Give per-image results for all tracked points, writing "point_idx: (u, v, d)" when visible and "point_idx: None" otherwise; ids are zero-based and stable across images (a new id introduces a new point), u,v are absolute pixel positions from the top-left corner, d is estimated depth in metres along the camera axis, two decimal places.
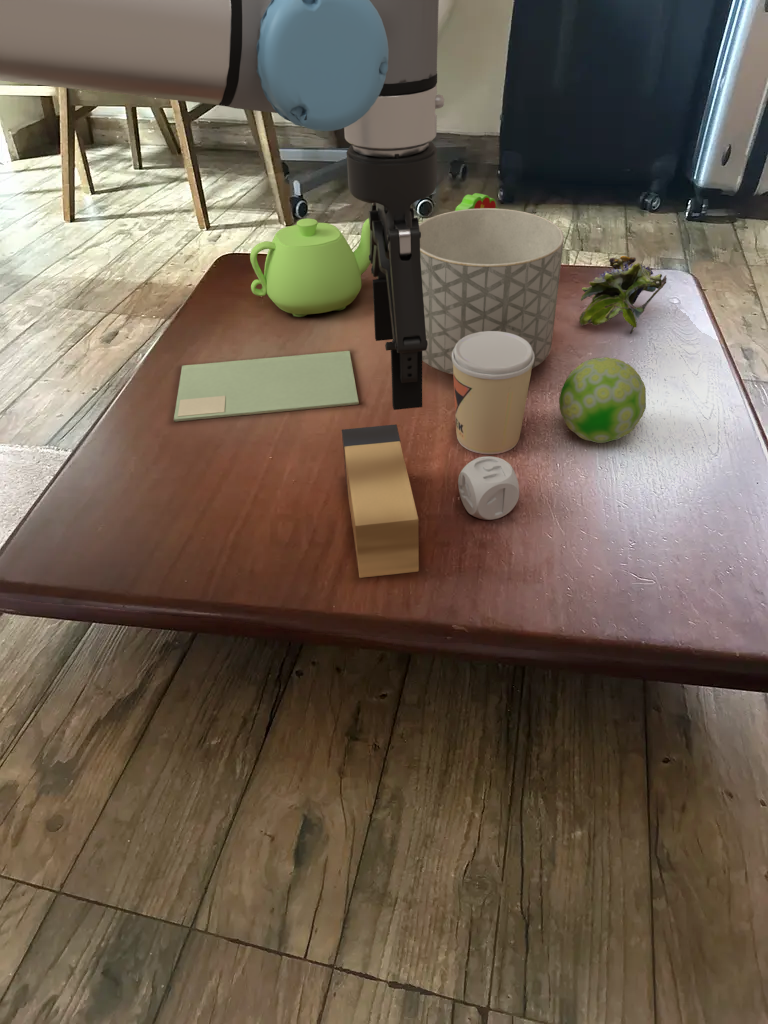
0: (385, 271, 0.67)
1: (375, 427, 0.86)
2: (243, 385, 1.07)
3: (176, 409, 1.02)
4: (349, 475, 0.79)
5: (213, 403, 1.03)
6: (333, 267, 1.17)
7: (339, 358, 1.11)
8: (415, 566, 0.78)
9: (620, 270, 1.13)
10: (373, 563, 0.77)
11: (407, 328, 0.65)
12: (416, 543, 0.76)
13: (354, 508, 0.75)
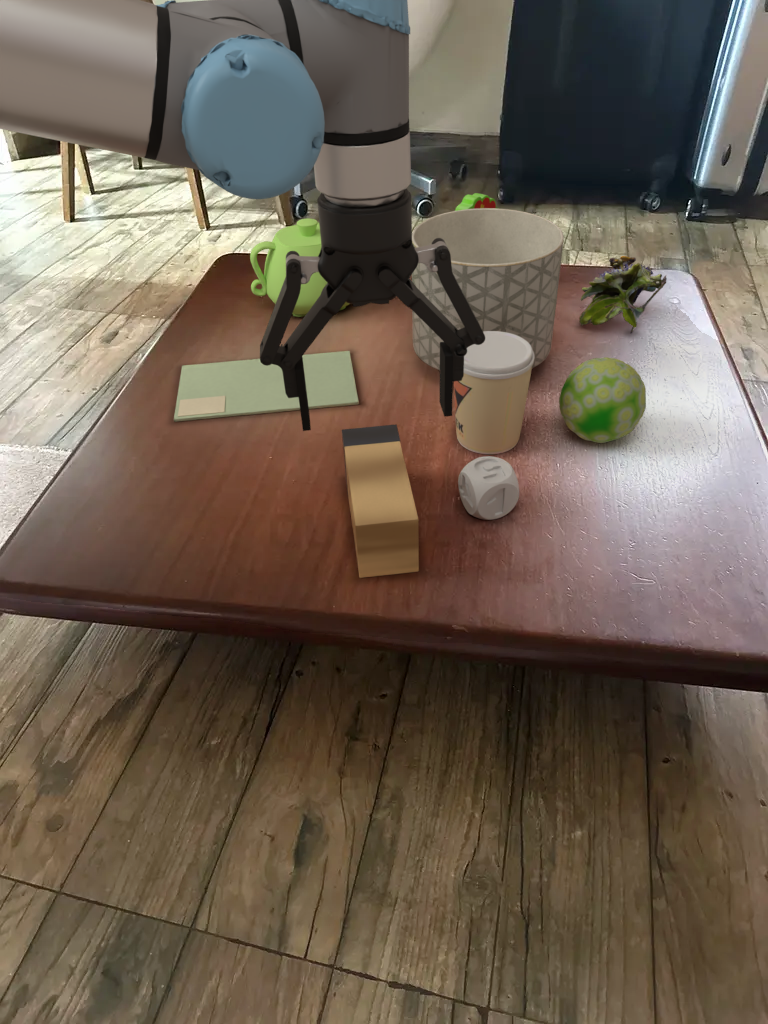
0: (415, 302, 0.67)
1: (375, 427, 0.86)
2: (243, 385, 1.07)
3: (176, 409, 1.02)
4: (349, 475, 0.79)
5: (213, 403, 1.03)
6: None
7: (339, 358, 1.11)
8: (415, 566, 0.78)
9: (620, 270, 1.13)
10: (373, 563, 0.77)
11: None
12: (416, 543, 0.76)
13: (354, 508, 0.75)
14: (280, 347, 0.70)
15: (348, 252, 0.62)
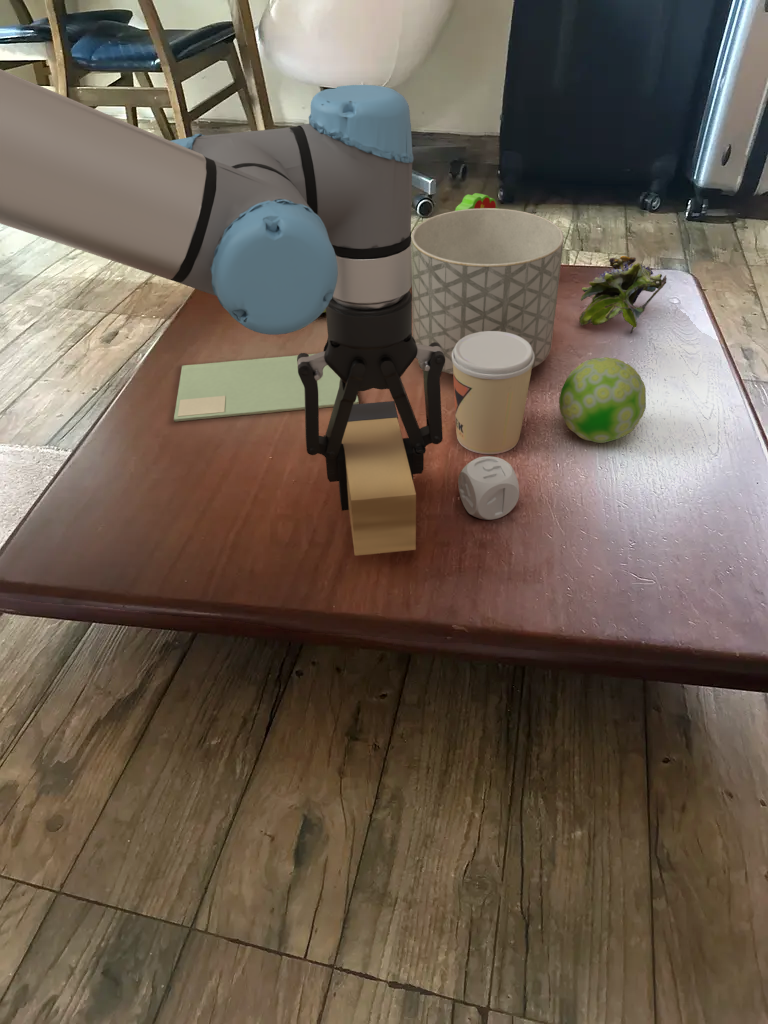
0: (399, 396, 0.73)
1: (371, 404, 0.84)
2: (243, 385, 1.07)
3: (176, 409, 1.02)
4: (345, 450, 0.77)
5: (213, 403, 1.03)
6: None
7: None
8: (412, 544, 0.76)
9: (620, 270, 1.13)
10: (369, 540, 0.75)
11: None
12: (413, 520, 0.74)
13: (350, 483, 0.73)
14: None
15: (353, 347, 0.67)
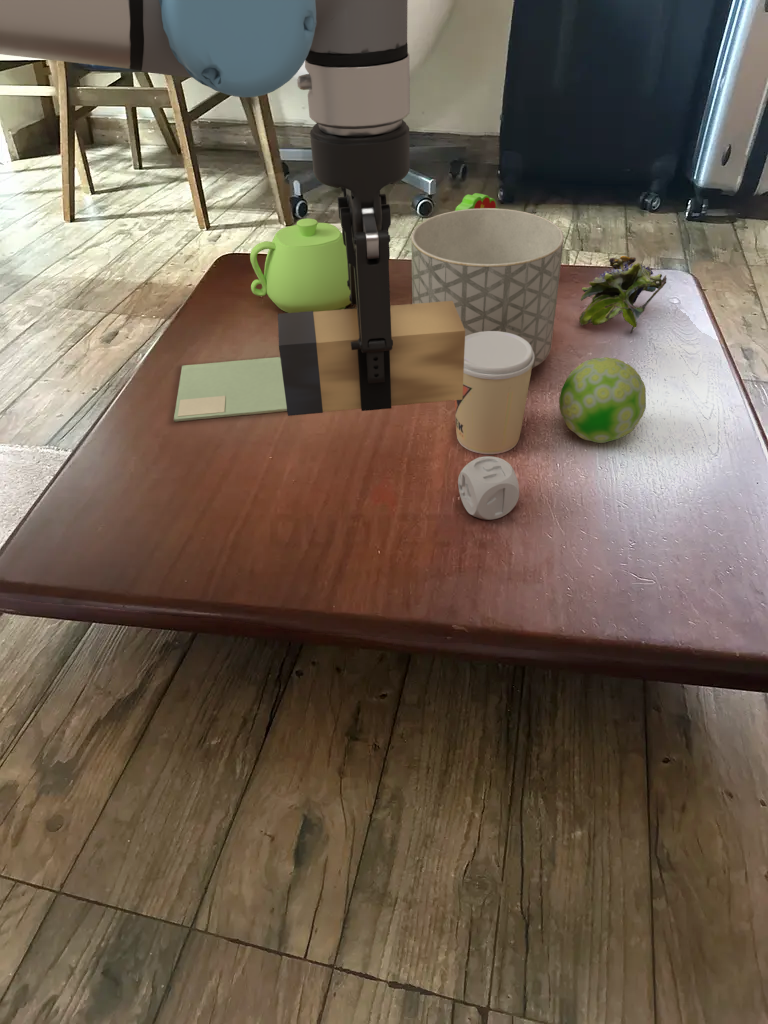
0: None
1: (279, 326, 0.69)
2: (243, 385, 1.07)
3: (176, 409, 1.02)
4: None
5: (213, 403, 1.03)
6: (333, 267, 1.17)
7: None
8: None
9: (620, 270, 1.13)
10: None
11: None
12: None
13: (436, 332, 0.67)
14: None
15: (404, 176, 0.60)
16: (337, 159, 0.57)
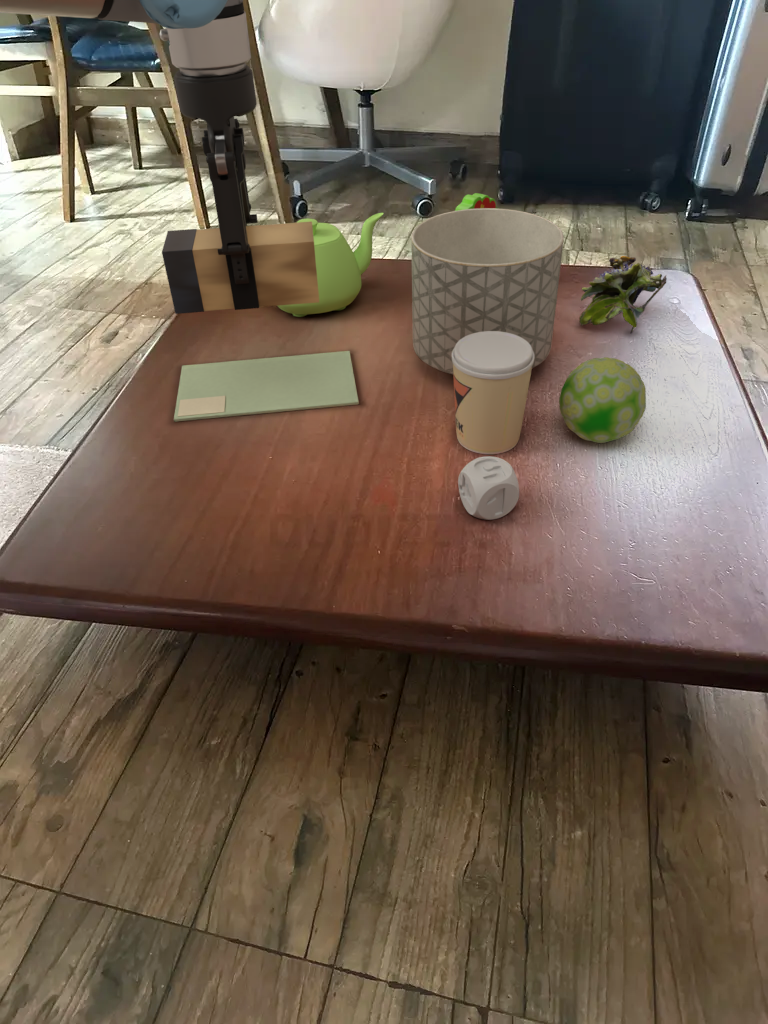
0: None
1: (166, 239, 0.85)
2: (243, 385, 1.07)
3: (176, 409, 1.02)
4: None
5: (213, 403, 1.03)
6: (333, 267, 1.17)
7: (339, 358, 1.11)
8: None
9: (620, 270, 1.13)
10: None
11: None
12: None
13: (290, 242, 0.83)
14: None
15: (250, 111, 0.76)
16: (191, 95, 0.73)
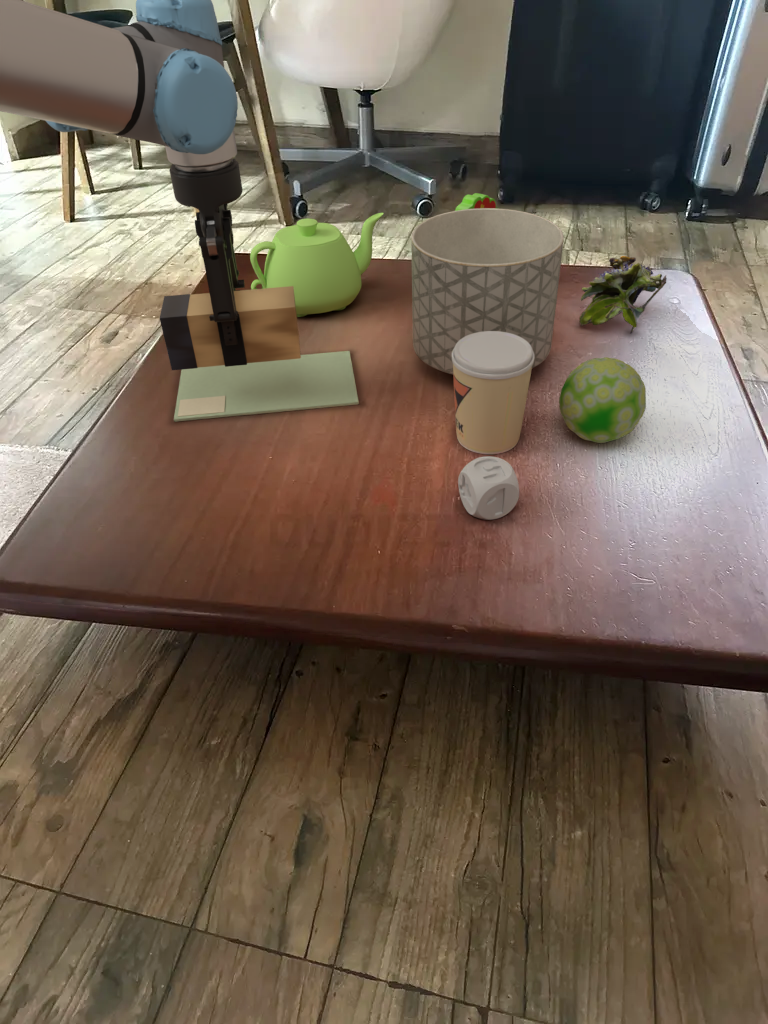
0: None
1: (163, 305, 0.96)
2: (243, 385, 1.07)
3: (176, 409, 1.02)
4: None
5: (213, 403, 1.03)
6: (333, 267, 1.17)
7: (339, 358, 1.11)
8: (298, 331, 1.02)
9: (620, 270, 1.13)
10: None
11: None
12: None
13: (273, 308, 0.94)
14: None
15: (237, 198, 0.86)
16: (185, 187, 0.83)
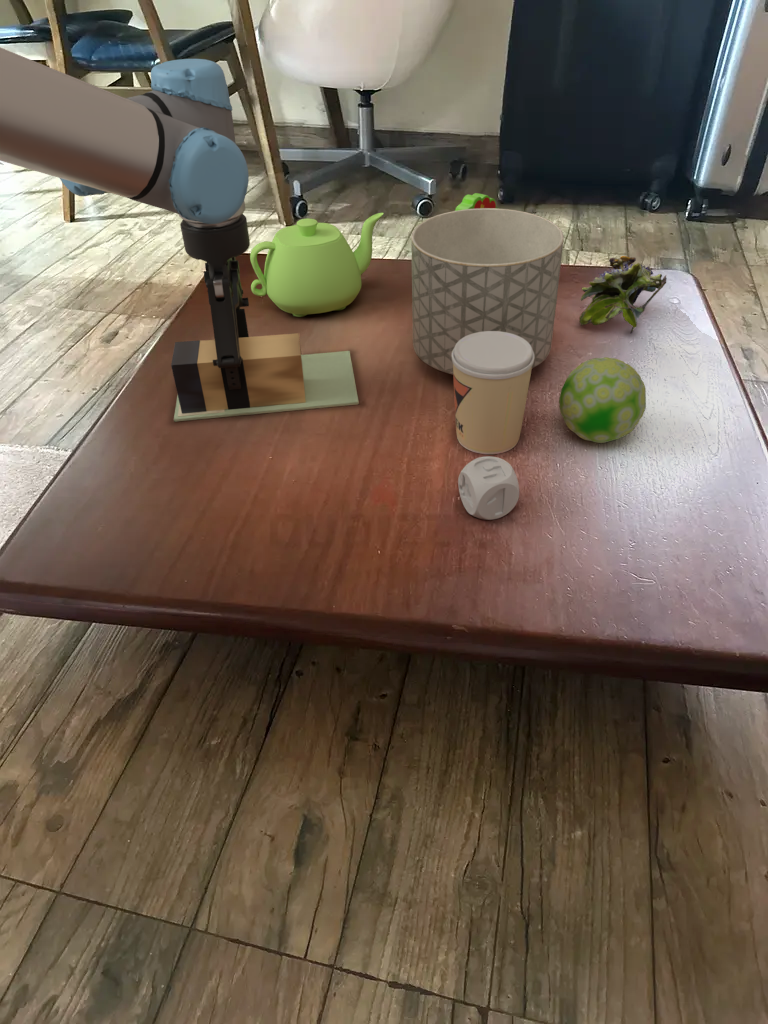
0: None
1: (174, 351, 1.00)
2: None
3: (176, 409, 1.02)
4: None
5: None
6: (333, 267, 1.17)
7: (339, 358, 1.11)
8: None
9: (620, 270, 1.13)
10: None
11: None
12: None
13: (280, 356, 0.98)
14: None
15: (244, 251, 0.90)
16: (195, 242, 0.87)
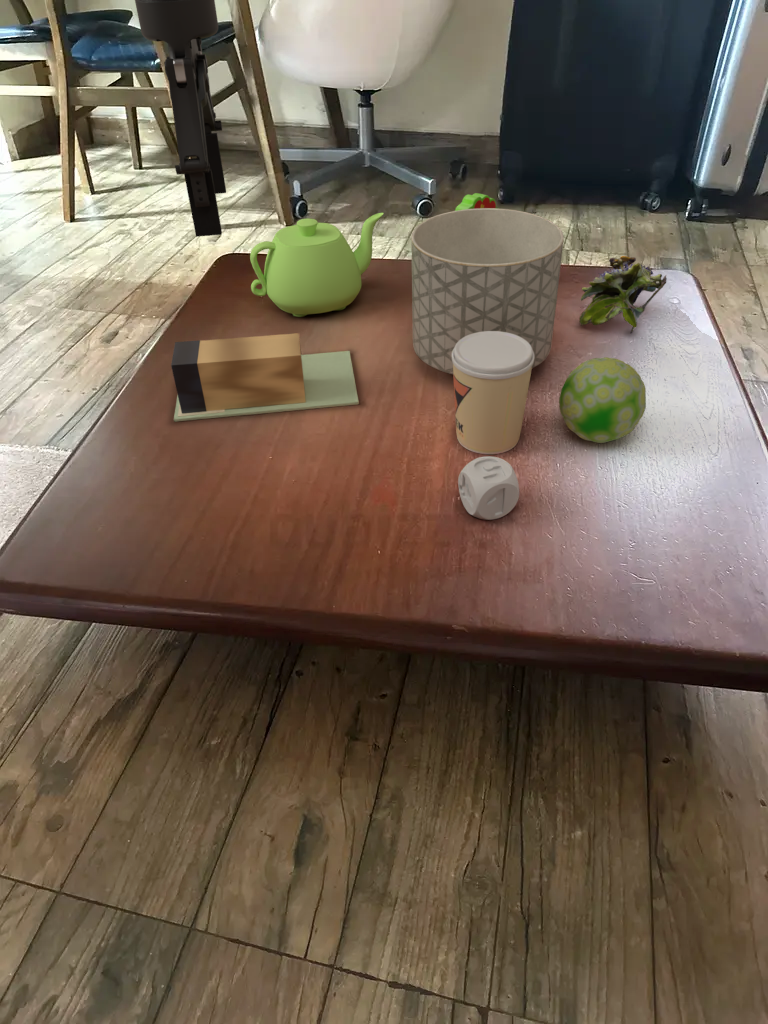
0: None
1: (174, 351, 1.00)
2: None
3: (176, 409, 1.02)
4: (238, 359, 0.98)
5: None
6: (333, 267, 1.17)
7: (339, 358, 1.11)
8: None
9: (620, 270, 1.13)
10: None
11: None
12: None
13: (280, 356, 0.98)
14: None
15: (212, 33, 0.76)
16: (152, 15, 0.73)
